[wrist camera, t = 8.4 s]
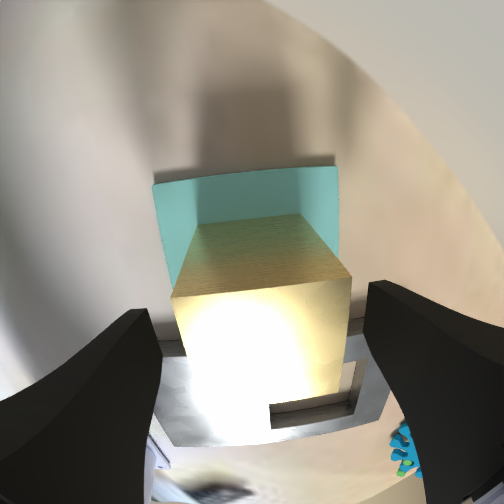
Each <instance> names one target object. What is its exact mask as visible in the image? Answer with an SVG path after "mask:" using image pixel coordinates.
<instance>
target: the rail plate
mask: <svg viewBox="0 0 504 504" xmlns="http://www.w3.org/2000/svg"><path fill="white" fill-rule="evenodd" d="M364 318H365V317H363V318H358V319H352V320H348V328H347V336H346V344H345V352H344V359H343V363H347V362H352V361H357V363H356V368H355V373H354V378H353V383H352V387H351V392H350V396H349V400H348V401H345V402H341V403H336V404H332V405H327V406H322V407H317V408H311V409H305V410H300V411H293V412H286V413H279V414H272V415H269V405H268V404H263V405H254V406H243V407H230V408H214V409H205V406H204V403H203V401H202V398H201V395H200V392H199V389H198V387H197V384H196V381H195V378H194V375H193V372H192V369H191V366H190V363H189V360H188V357H187V354H186V350H185V347H184V344H183V341H182V340H174V341H158V343H159V346H160V348H161V351H162V354H163V363H162V373H161V381H160V386H159V390H158V394H157V398H156V403H155V407H154V411H153V412H154V414H155V416H156V418H157V419H158V421H159V423H160V424H161V426H162V428H163V429H164V431H165V433H166V434H167V436H168V437H169V439H170V441H171V442H172V444H173V445H174V447H220V446H239V445H252V444H262V443H271V442H279V441H286V440H293V439H299V438H305V437H311V436H316V435H321V434H326V433H331V432H335V431H340V430H344V429H348V428H352V427H356V426H359V425H363V424H367V423H370V422H374V421H377V420H379V418H380V416H381V413H382V411H383V408H384V406H385V403H386V401H387V398H388V395H389V393H390V390H391V389H390V387H389V385H388V383H387V382H386V380H385V378H384V376H383V375H382V373H381V371H380V369H379V367H378V366H377V364H376V362H375V360H374V358H373V357H372V355H371V352H370V350H369V347H368V345H367V342H366V340H365V337H364V334H363V332H362V331H363V325H364Z"/></svg>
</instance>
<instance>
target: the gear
mask: <svg viewBox="0 0 504 504" xmlns="http://www.w3.org/2000/svg"><path fill="white" fill-rule="evenodd" d="M399 432H400V433H401V434H402V435H404V436H406V437H407V439H408V440H409V442H405V441H404V440H403V438H402V436H401V435H398V434H396V435H395V436H394V437H393V439H392V440H391V442H390V444H389V445H390V446H391V447H396V448H400V449H403V450H404V451H406V452H403V451H402V450H400V449H394V450H393V452H392V454H391V460H393V461H397V460H402V462H401V464H400V467H399V469H398V471H397V476H400V477H402V476H404V475H405V473H406V472H407V471H409V470H410V469H412V468H414V467H419V466H420V464H419V460H418V456H417V452H416V449H415V446H414V442H413V439H412V436H411V433H410V430H409V427H408V425H407V422H405V423H403V424H402V425H401V426H400V428H399ZM415 476H417V477H420V478H423V477H422V472H421V468H420V467H419V468H418V469H417V470H416V473H415Z"/></svg>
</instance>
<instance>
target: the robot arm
mask: <svg viewBox="0 0 504 504" xmlns="http://www.w3.org/2000/svg"><path fill="white" fill-rule="evenodd" d="M362 332H363V334H364V337H365V340H366V342H367V345H368V347H369V350H370V352H371V355H372V357H373V358H374V360H375V362H376V364H377V366H378V367H379V369H380V371H381V373H382V375H383V376H384V378H385V380H386V382H387V383H388V385H389V387H390V389H391V391H392V392H393V394H394V396H395V398H396V400H397V402H398V403H399V405H400V408H401V410H402V412H403V414H404V417H405V419H406V422H407V425H408V427H409V430H410V433H411V436H412V439H413V442H414V446H415V449H416V452H417V456H418V460H419V464H420V468H421V472H422V477H423V481H424V488H425V495H426V502H427V504H463V503H465V502H466V501H468V500H469V499H471V498H472V500H473V503H472V504H504V328H502V327H498V326H495V325H491V324H488V323H485V322H482V321H479V320H476V319H473V318H471V317H468V316H466V315H463V314H461V313H458V312H456V311H454V310H451V309H449V308H447V307H444V306H442V305H440V304H438V303H436V302H434V301H431V300H429V299H427V298H425V297H423V296H421V295H419V294H417V293H415V292H413V291H410V290H408V289H406V288H404V287H402V286H400V285H397V284H395V283H392V282H390V281H387V280H381V281H375V282H369V286H368V295H367V303H366V311H365V318H364V325H363V331H362ZM162 363H163V354H162V351H161V348H160V346H159V343H158V340H157V337H156V334H155V331H154V328H153V325H152V322H151V319H150V316H149V313H148V310H147V308H143V309H130V310H129V311H127V312H126V313H124V314H123V315H122V316H120V317H119V318H118V319H117V320H116V321H114V322H113V323H112V324H111V325H110V326H109V327H107V328H106V329H105V330H104V331H103V332H102V333H100V334H99V335H98V336H97V337H96V338H95V339H93V340H92V341H91V342H90V343H89V344H88V345H86V346H85V347H84V348H83V349H81V350H80V351H79V352H78V353H76V354H75V355H74V356H73V357H72V358H70V359H69V360H68V361H67V362H65V363H64V364H63V365H61V366H60V367H59V368H57V369H56V370H54V371H53V372H51V373H50V374H48V375H47V376H45V377H44V378H42V379H41V380H39V381H38V382H36V383H34V384H33V385H31V386H29V387H27V388H25V389H24V390H22V391H20V392H18V393H16V394H15V395H13V396H11V397H8V398H6V399H4V400H2V401H0V504H150V503H151V495H152V487H153V480H154V473H155V468H156V469H170V468H171V465H170V464H169V463H168V461H167V460H166V459H165V458H164V456H163V455H162V454H161V452H160V451H159V450H158V448H157V447H156V446H155V444H154V443H153V441H152V440H151V439H150V437H149V436H148V433H149V428H150V424H151V420H152V415H153V411H154V407H155V403H156V398H157V394H158V390H159V386H160V381H161V373H162Z"/></svg>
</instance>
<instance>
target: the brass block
mask: <svg viewBox="0 0 504 504" xmlns="http://www.w3.org/2000/svg"><path fill="white" fill-rule="evenodd" d="M351 286H352V276H351V275H350V273H349V272H348V271H347V270H346V268H345V267H344V266H343V265H342V263H341V262H340V261H339V259H338V258H337V257H336V256H335V254H334V253H333V252H332V251H331V249H330V248H329V247H328V246H327V245H326V243H325V242H324V241H323V240H322V238H321V237H320V236H319V235H318V234H317V232H316V231H315V230H314V229H313V228H312V226H311V225H310V224H309V223H308V222H307V220H306V219H305V218H304V217H303V216H302V214H301V213H300V214H290V215H280V216H270V217H261V218H251V219H242V220H234V221H225V222H217V223H208V224H200V225H197V227H196V230H195V232H194V235H193V237H192V240H191V243H190V245H189V248H188V251H187V253H186V256H185V259H184V261H183V264H182V267H181V270H180V272H179V275H178V278H177V281H176V283H175V286H174V289H173V292H172V295H171V298H170V299H171V302H172V306H173V310H174V313H175V317H176V320H177V324H178V327H179V331H180V334H181V337H182V341H183V344H184V347H185V350H186V354H187V357H188V360H189V363H190V366H191V369H192V372H193V375H194V378H195V381H196V384H197V387H198V389H199V392H200V395H201V398H202V401H203V403H204V406H205V409H214V408H230V407H243V406H254V405H263V404H271V403H279V402H286V401H293V400H299V399H305V398H311V397H316V396H321V395H327V394H331V393H336V392H338V390H339V384H340V378H341V372H342V365H343V359H344V352H345V344H346V336H347V328H348V319H349V309H350V298H351Z"/></svg>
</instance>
